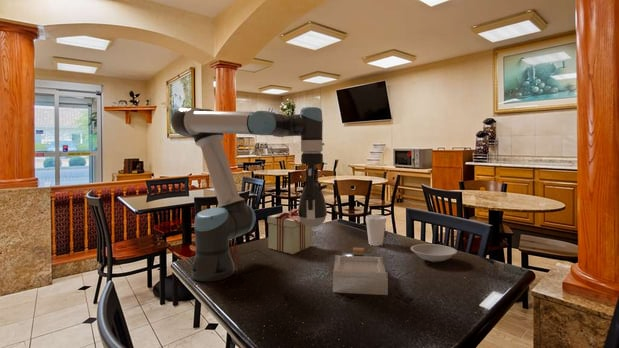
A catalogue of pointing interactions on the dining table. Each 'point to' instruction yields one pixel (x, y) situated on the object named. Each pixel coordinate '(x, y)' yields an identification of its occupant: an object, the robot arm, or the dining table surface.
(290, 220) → the gift box
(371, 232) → the foam cup
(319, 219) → the pump dispenser
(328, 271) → the dining table surface
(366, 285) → the white tray
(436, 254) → the dish
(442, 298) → the dining table surface
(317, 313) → the dining table surface
